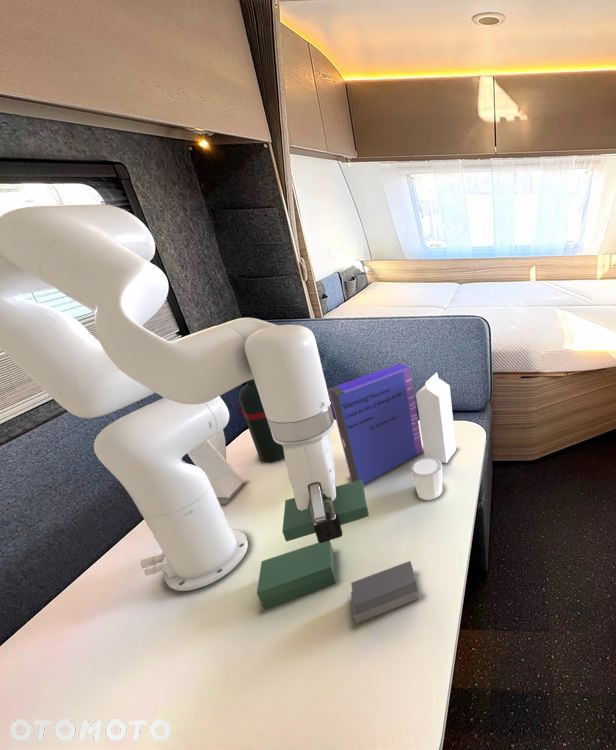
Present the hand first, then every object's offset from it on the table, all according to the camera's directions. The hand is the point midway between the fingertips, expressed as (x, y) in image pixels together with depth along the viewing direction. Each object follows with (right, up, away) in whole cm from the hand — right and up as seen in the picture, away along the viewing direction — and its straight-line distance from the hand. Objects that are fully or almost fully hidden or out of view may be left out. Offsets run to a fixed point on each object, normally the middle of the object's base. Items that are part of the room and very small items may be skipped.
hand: (329, 519), depth 58 cm
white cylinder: (+10, -4, +28) cm, 30 cm away
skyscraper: (-38, -5, +31) cm, 49 cm away
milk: (+11, +1, +40) cm, 42 cm away
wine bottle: (-34, +1, +44) cm, 56 cm away
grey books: (+7, -15, +5) cm, 17 cm away
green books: (-9, -14, +9) cm, 19 cm away
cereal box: (-2, 0, +38) cm, 38 cm away
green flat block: (0, +1, -1) cm, 1 cm away
